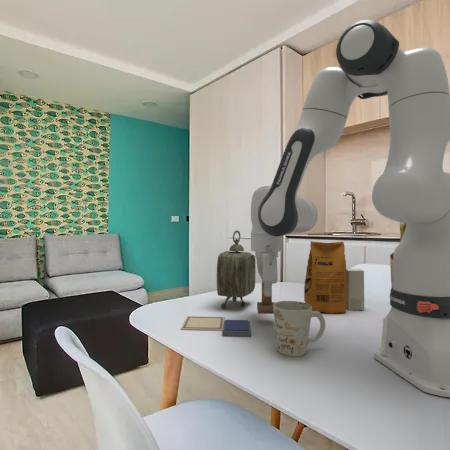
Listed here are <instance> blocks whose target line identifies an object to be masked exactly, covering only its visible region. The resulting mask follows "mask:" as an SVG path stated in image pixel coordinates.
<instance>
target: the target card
mask: <svg viewBox="0 0 450 450" xmlns="http://www.w3.org/2000/svg"><path fill="white" fill-rule="evenodd" d="M224 320H226V317H225V316H194V315H193V316H186V317H185V320H184V322H183V324H182V325H181V326H180V331H181V330H182V331H223V324H224Z"/></svg>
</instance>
